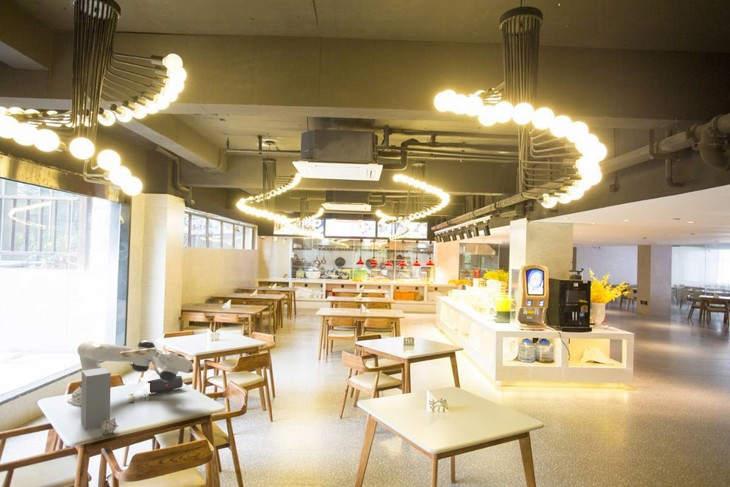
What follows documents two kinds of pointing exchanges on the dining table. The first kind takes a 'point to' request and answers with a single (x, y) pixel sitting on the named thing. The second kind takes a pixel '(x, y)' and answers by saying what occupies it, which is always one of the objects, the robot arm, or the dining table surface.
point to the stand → (95, 397)
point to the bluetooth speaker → (165, 385)
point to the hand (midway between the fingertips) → (148, 350)
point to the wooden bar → (136, 352)
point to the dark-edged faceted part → (108, 426)
